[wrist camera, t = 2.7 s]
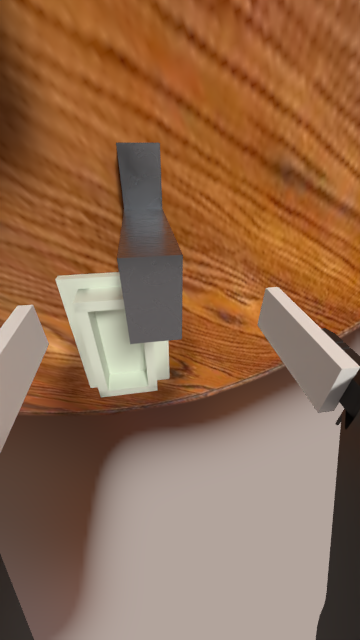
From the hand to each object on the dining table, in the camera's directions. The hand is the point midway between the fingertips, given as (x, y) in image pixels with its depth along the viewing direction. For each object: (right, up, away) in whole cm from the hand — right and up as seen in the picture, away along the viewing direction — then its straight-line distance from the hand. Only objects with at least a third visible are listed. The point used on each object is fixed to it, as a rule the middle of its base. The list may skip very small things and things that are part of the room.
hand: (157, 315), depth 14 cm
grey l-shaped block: (-2, +11, +10) cm, 15 cm away
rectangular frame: (-6, -2, +19) cm, 20 cm away
